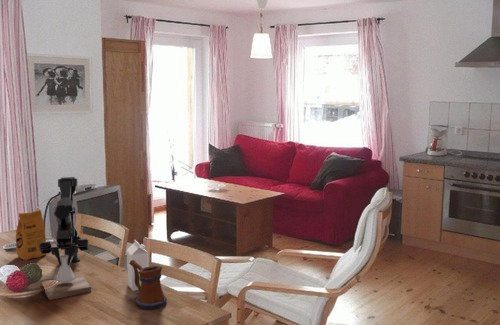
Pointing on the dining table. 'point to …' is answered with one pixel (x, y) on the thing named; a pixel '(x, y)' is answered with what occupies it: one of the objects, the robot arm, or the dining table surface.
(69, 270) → the flask
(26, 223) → the coffee package
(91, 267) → the dining table surface
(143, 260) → the milk carton
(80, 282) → the walnut board
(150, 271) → the mug
